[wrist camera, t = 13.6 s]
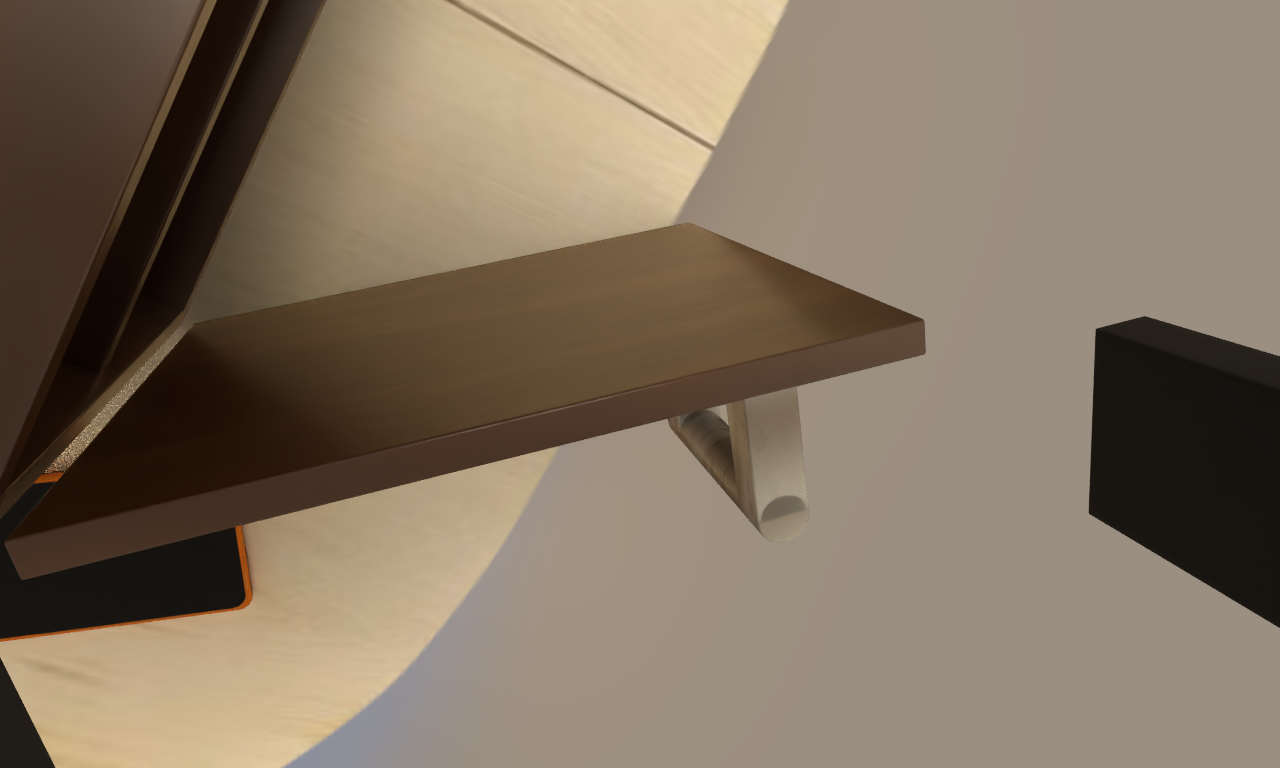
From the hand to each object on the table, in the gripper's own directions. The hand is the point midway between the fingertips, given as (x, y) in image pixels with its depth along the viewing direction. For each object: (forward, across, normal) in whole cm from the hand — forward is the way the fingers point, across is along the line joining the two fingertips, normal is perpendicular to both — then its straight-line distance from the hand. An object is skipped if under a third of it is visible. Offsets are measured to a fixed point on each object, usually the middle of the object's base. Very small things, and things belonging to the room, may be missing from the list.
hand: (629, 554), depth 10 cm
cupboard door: (+30, 0, -6) cm, 31 cm away
